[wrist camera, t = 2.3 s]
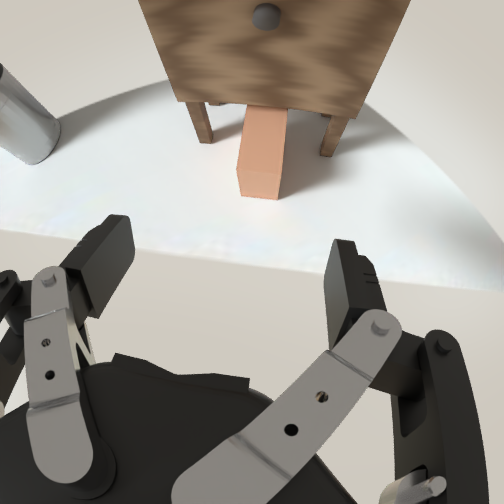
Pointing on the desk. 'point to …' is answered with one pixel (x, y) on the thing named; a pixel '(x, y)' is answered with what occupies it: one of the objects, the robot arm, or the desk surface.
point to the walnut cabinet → (274, 54)
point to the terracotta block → (262, 151)
